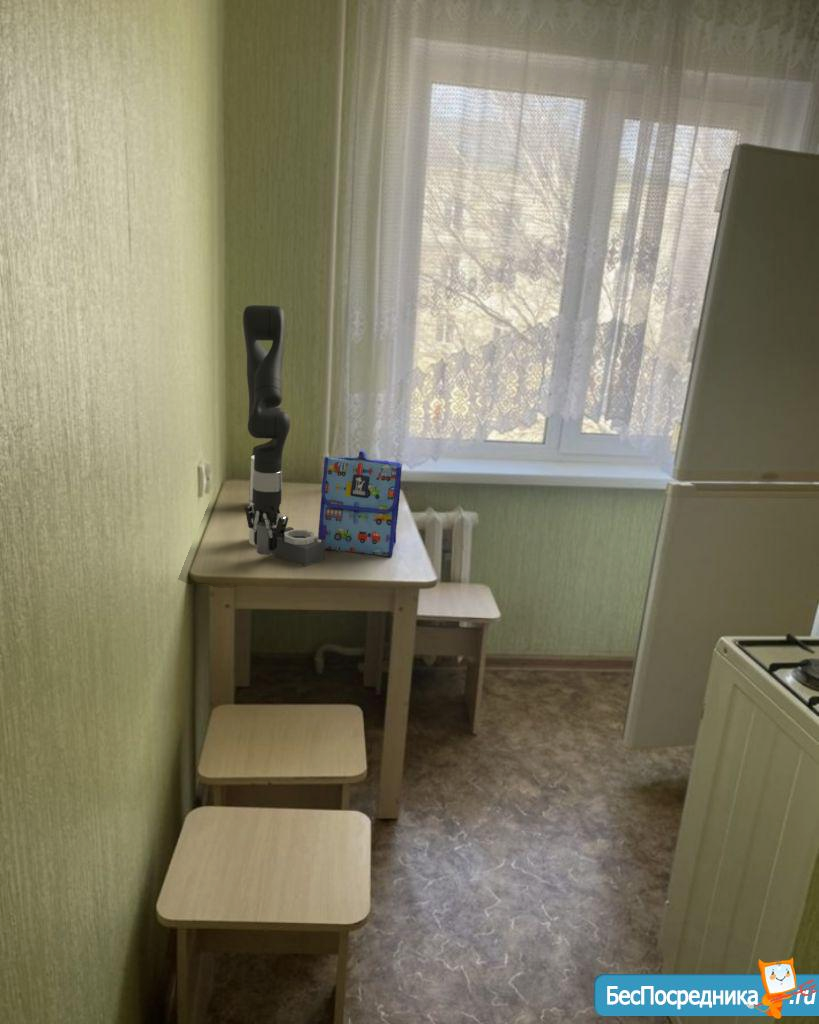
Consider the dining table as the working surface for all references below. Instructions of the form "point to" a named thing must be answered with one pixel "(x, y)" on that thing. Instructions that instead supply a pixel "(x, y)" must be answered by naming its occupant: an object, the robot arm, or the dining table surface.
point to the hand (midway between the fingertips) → (265, 546)
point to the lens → (263, 539)
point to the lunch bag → (359, 504)
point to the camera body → (300, 547)
